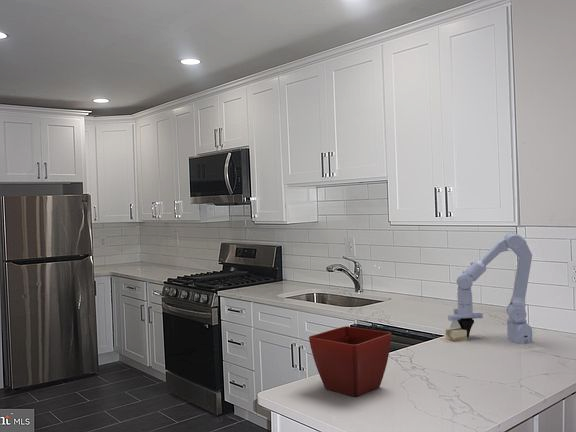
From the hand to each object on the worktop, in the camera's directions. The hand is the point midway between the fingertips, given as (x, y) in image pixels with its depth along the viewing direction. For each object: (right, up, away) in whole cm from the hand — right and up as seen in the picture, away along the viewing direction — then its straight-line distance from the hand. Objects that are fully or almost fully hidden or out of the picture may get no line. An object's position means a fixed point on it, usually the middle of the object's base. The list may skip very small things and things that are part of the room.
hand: (466, 336), depth 221 cm
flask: (+3, -2, +19) cm, 19 cm away
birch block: (-4, -1, -1) cm, 5 cm away
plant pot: (-53, -5, -52) cm, 74 cm away
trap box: (-1, -2, 0) cm, 2 cm away
